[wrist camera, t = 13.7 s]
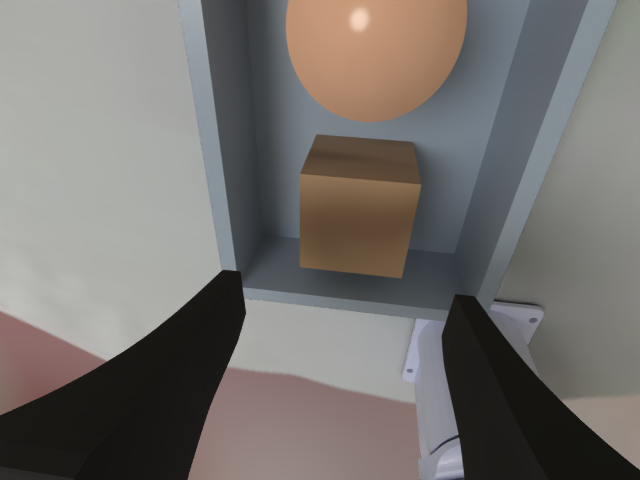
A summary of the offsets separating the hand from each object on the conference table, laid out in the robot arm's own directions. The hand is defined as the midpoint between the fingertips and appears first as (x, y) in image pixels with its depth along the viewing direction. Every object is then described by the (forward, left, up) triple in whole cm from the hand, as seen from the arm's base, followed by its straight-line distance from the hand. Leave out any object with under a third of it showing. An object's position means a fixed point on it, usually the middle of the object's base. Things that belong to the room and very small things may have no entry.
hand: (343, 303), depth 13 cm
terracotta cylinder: (+8, 0, -10) cm, 13 cm away
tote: (+4, 0, -10) cm, 11 cm away
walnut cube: (0, 0, -10) cm, 10 cm away
